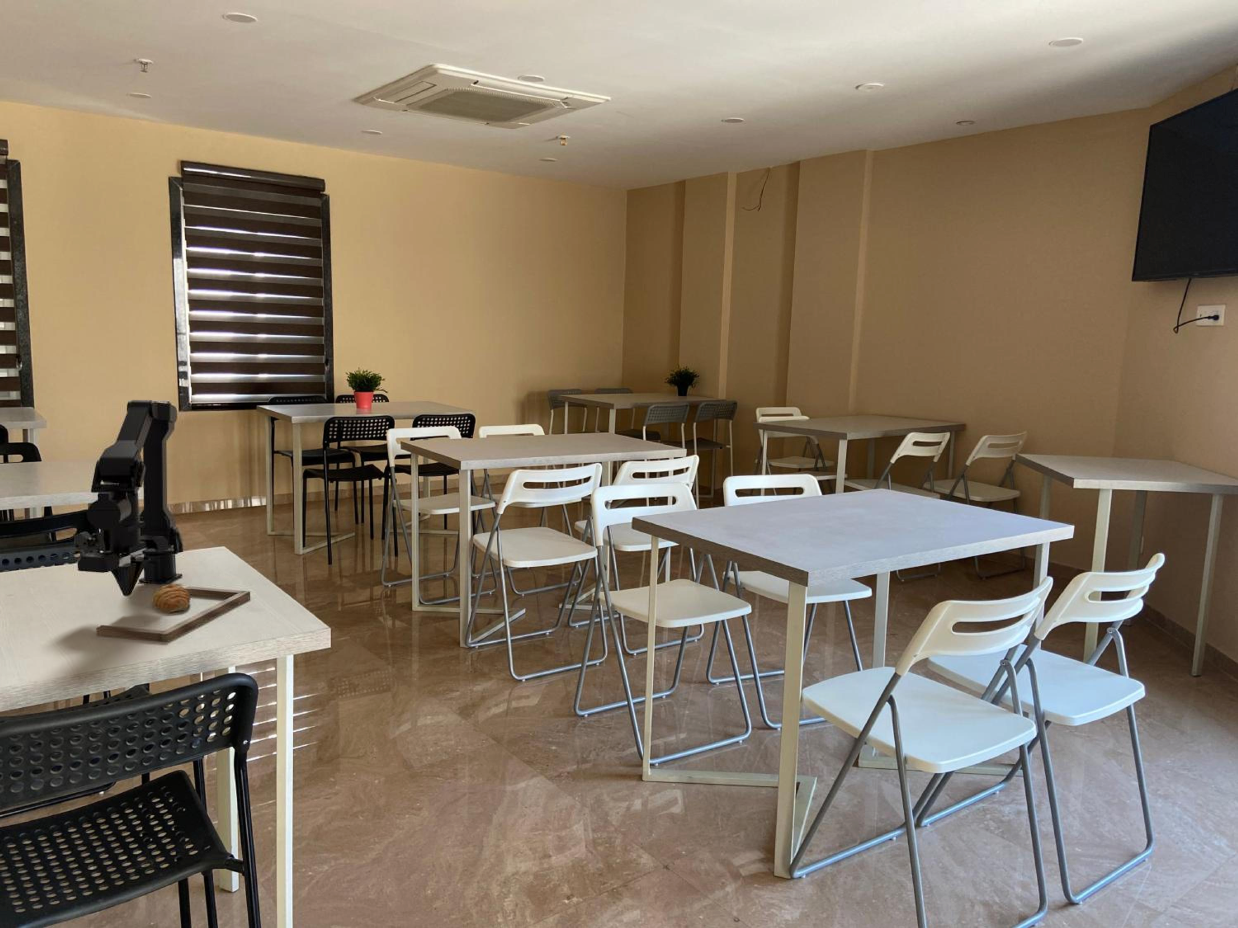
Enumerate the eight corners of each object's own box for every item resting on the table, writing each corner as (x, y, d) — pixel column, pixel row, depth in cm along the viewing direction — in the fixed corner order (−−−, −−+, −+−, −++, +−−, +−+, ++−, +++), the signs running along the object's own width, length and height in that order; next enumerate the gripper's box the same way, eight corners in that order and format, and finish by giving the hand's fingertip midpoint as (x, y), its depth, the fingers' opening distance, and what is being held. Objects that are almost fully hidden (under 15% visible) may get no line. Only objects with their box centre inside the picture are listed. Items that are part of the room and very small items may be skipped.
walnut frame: (189, 593, 190) (188, 586, 190) (250, 598, 188) (250, 591, 188) (96, 635, 164) (96, 627, 163) (166, 641, 162) (166, 633, 161)
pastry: (197, 610, 180) (196, 592, 179) (160, 617, 175) (159, 598, 175) (185, 598, 187) (184, 581, 186) (149, 604, 183) (148, 586, 182)
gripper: (119, 506, 185) (123, 579, 187) (48, 525, 166) (54, 606, 169) (168, 509, 183) (171, 583, 185) (102, 529, 165) (107, 611, 167)
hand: (127, 595), depth 177 cm, fingers closed
